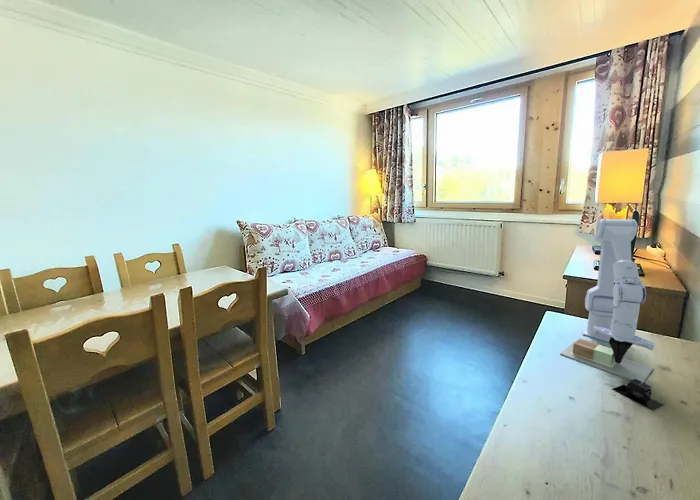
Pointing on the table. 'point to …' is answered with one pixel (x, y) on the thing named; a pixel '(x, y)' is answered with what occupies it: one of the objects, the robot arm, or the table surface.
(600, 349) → the green block
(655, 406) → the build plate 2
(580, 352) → the walnut block
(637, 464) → the table surface
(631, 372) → the plate
